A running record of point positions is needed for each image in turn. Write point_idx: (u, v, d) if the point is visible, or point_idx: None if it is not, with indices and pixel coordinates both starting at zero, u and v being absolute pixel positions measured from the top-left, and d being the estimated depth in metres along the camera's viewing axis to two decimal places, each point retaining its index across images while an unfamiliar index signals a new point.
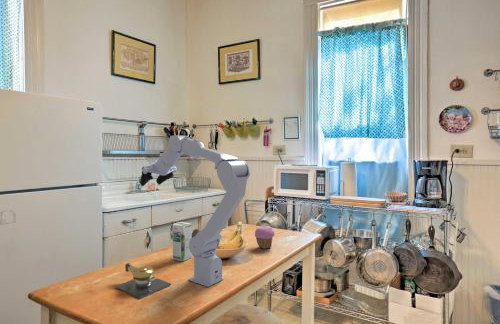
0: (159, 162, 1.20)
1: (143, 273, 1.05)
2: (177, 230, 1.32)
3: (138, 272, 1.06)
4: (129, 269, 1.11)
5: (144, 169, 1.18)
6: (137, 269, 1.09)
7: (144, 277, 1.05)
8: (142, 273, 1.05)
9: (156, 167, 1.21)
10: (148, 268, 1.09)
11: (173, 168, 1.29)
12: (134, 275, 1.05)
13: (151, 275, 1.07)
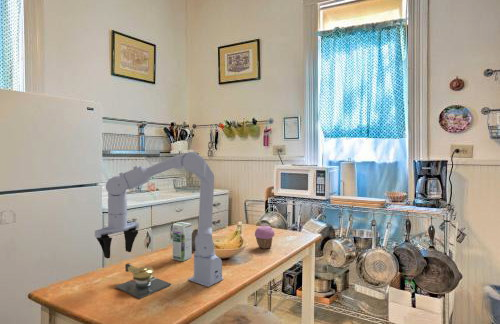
0: (109, 218, 1.05)
1: (143, 273, 1.05)
2: (177, 230, 1.32)
3: (138, 272, 1.06)
4: (129, 269, 1.11)
5: (96, 233, 1.02)
6: (137, 269, 1.09)
7: (144, 277, 1.05)
8: (142, 273, 1.05)
9: (110, 226, 1.05)
10: (148, 268, 1.09)
11: (133, 224, 1.12)
12: (134, 275, 1.05)
13: (151, 275, 1.07)
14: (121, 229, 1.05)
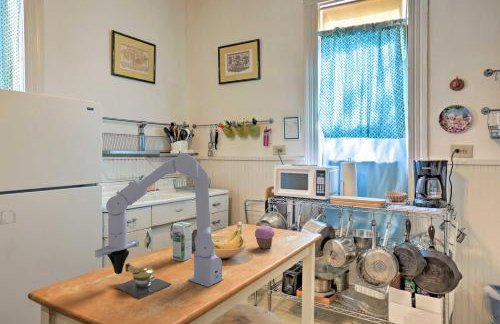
0: (109, 237, 1.05)
1: (143, 273, 1.05)
2: (177, 230, 1.32)
3: (138, 272, 1.06)
4: (129, 269, 1.11)
5: (96, 252, 1.02)
6: (137, 269, 1.09)
7: (144, 277, 1.05)
8: (142, 273, 1.05)
9: (110, 245, 1.05)
10: (148, 268, 1.09)
11: (134, 242, 1.12)
12: (134, 275, 1.05)
13: (151, 275, 1.07)
14: (121, 248, 1.05)
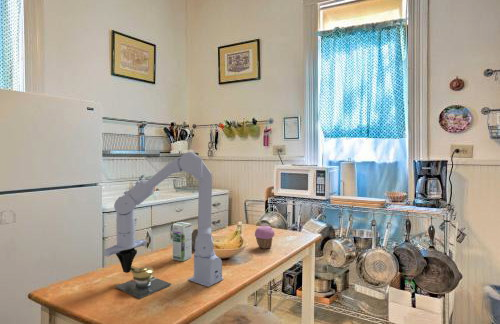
0: (117, 237, 1.07)
1: (143, 273, 1.05)
2: (177, 230, 1.32)
3: (138, 272, 1.06)
4: None
5: (105, 251, 1.04)
6: (137, 269, 1.09)
7: (144, 277, 1.05)
8: (142, 273, 1.05)
9: (118, 244, 1.07)
10: (148, 268, 1.09)
11: (141, 241, 1.14)
12: (134, 275, 1.05)
13: (151, 275, 1.07)
14: (130, 247, 1.07)
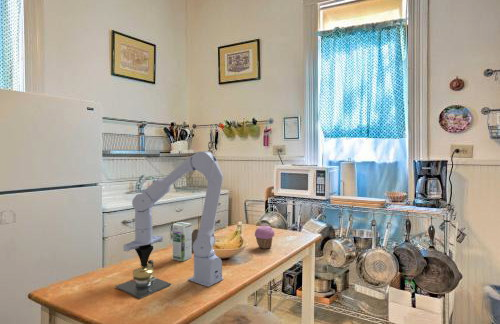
0: (136, 233, 1.12)
1: (136, 273, 1.06)
2: (177, 230, 1.32)
3: (137, 270, 1.07)
4: None
5: (125, 247, 1.08)
6: (144, 267, 1.10)
7: (135, 277, 1.05)
8: (136, 272, 1.06)
9: (137, 240, 1.12)
10: (150, 270, 1.08)
11: (158, 237, 1.19)
12: None
13: (143, 277, 1.05)
14: (147, 243, 1.12)
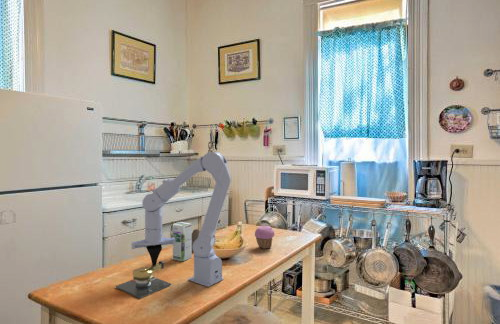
0: (145, 232, 1.13)
1: (135, 272, 1.06)
2: (177, 230, 1.32)
3: (138, 269, 1.08)
4: None
5: None
6: (147, 268, 1.10)
7: (133, 275, 1.06)
8: (135, 271, 1.07)
9: (145, 239, 1.13)
10: (148, 271, 1.07)
11: (171, 239, 1.16)
12: None
13: (138, 277, 1.05)
14: (153, 244, 1.11)
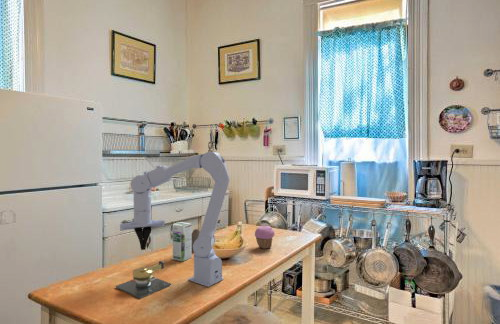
0: None
1: (135, 272, 1.06)
2: (177, 230, 1.32)
3: (138, 269, 1.08)
4: None
5: (120, 226, 1.10)
6: (147, 268, 1.10)
7: (133, 275, 1.06)
8: (135, 271, 1.07)
9: (134, 221, 1.12)
10: (148, 271, 1.07)
11: (160, 221, 1.16)
12: None
13: (138, 277, 1.05)
14: (141, 225, 1.10)
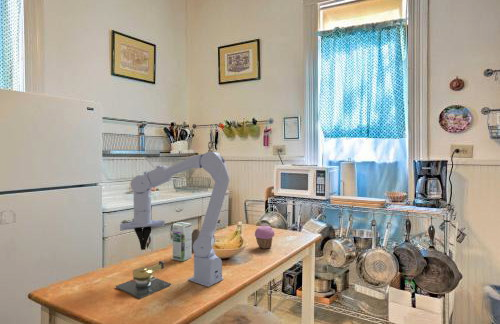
0: None
1: (135, 272, 1.06)
2: (177, 230, 1.32)
3: (138, 269, 1.08)
4: None
5: (120, 226, 1.10)
6: (147, 268, 1.10)
7: (133, 275, 1.06)
8: (135, 271, 1.07)
9: (134, 221, 1.12)
10: (148, 271, 1.07)
11: (160, 221, 1.16)
12: None
13: (138, 277, 1.05)
14: (141, 225, 1.10)
